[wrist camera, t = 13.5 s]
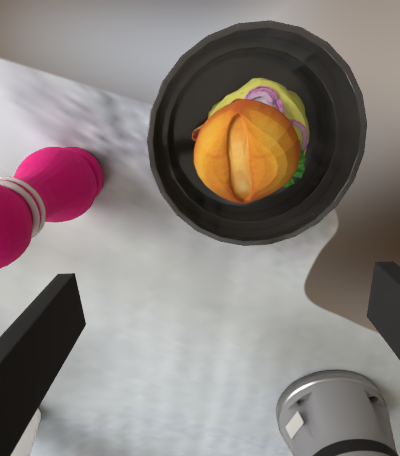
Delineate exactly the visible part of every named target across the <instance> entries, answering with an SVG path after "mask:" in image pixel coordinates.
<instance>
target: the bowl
mask: <svg viewBox="0 0 400 456" xmlns="http://www.w3.org/2000/svg"><path fill="white" fill-rule="evenodd" d="M253 78H264V79H268V80H271V81H274V82H277V83H279V84H281V85H282V86H284V87H285V88H286V89H287V90H288V91H292V92H295V93H296V94H297V95H298V96H299V98H300V99H301V100H302V102H303V105H304V107H305V115H306V118H307V121H308V126H309V142H308V145H307V148H306V153H305V156H304V157H305V158H306V159H305V161H304V163H303V164H304V168H305V171H304V172H303V174H302V178H298V177H293V179H294V182H295V184H292V185H290V186H288V187H281V188H280V189H278V190H276V191H275V192H273V193H272V194H270V195H268V196H266V197H264V198H262V199H259V200H256V201H253V202H249V203H237V202H232V201H229V200H227V199H224V198H222V197H220V196H218V195H217V194H216V193H214V192H213V191H211V190H210V189H209V188H208V187H207V186H206V185H205V184H204V183H203V181H202V180H201V179H200V177H199V176H198V174H197V171H196V168H195V165H194V147H195V143H196V141H194V140H193V139H192V133H193V131H194V130H195V129H197V128H198V127H200V126H201V125H203V124H204V123H205V122H206V121H207V120H208V113H209V111H210V110H211V108H212V107H213V105H214V104H216V103H218V102H220V101H222V100H223V99H224V97H225V96H227V95H229V94H231V93H233V92H234V91H236V90H238V89H239V88H241V87H242V86H244V85H245V84H246V83H248V82H249V81H250V80H251V79H253ZM366 129H367V121H366V114H365V108H364V101H363V95H362V92H361V90H360V88H359V86H358V84H357V81H356V79H355V77H354V75H353V73H352V71H351V69H350V67H349V65H348V64H347V63H346V62H345V61H344V60H343V59H342V57H341V56H340V55H339V54H338V53H337V52H336V51H335V50H334V49H333V48H332V47H331V45H330V44H329V43H328V42H326V41H324V40H322V39H321V38H319V37H317V36H316V35H314V34H312V33H310V32H309V31H307V30H305V29H303V28H301V27H298V26H293V25H289V24H284V23H279V22H275V21H260V22H249V23H238V24H235V25H233V26H230V27H228V28H225V29H223V30H220V31H218V32H215V33H213V34H211V35H208V36H207V37H205V38H204V39H203V40H201V41H200V42H199V43H197V44H196V45H195V46H194V47H192V48H191V49H190V50H188V51H187V52H186V53H185V54H183V55H182V57H180V59H179V60H178V61H177V63H176V64H175V65H174V67H173V68H172V69H171V71H170V72H169V73H168V75H167V76H166V78H165V79H164V80H163V82H162V84H161V86H160V89H159V91H158V94H157V96H156V99H155V102H154V104H153V106H152V109H151V112H150V120H149V129H148V137H147V144H148V152H149V159H150V167H151V171H152V173H153V176H154V178H155V181H156V183H157V185H158V188H159V190H160V193H161V195H162V196H163V197H164V199H165V200H166V201H167V203H168V204H169V205H170V207H171V208H172V209H173V211H174V212H175V214H176V215H177V216H179V217H180V218H181V219H182V220H183V221H185V222H186V223H187V224H188V225H190V226H191V227H192V228H193V229H195V230H197V231H198V232H200V233H202V234H204V235H207V236H209V237H211V238H213V239H215V240H218V241H221V242H226V243H232V244H237V245H242V246H249V245H266V244H272V243H275V242H279V241H282V240H285V239H289V238H292V237H295V236H297V235H298V234H300V233H302V232H304V231H305V230H307V229H309V228H310V227H312V226H314V225H316V224H317V223H319V222H320V221H321V220H322V219H323V218H324V217H325V216H326V215H327V214H328V213H329V212H330V211H331V210H333V209H334V208H335V207H336V206H337V204H338V203H339V202H340V200H341V199H342V198H343V196H344V194H345V193H346V192H347V190H348V189H349V187H350V186H351V184H352V183H353V181H354V179H355V176H356V173H357V171H358V168H359V165H360V163H361V160H362V157H363V153H364V148H365V138H366Z"/></svg>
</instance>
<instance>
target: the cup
mask: <svg viewBox="0 0 400 456" xmlns="http://www.w3.org/2000/svg"><path fill="white" fill-rule="evenodd" d="M40 420H41V412H40V410H39V408H38V409H37V411H36V412H35V414H34V416H33V417H32V419H31V421H30V423H29V424H28V426H27V428H26V430H25V431H24V433H23V435H22V437H21V438H20V440H19V442H18V444H17V445H16V447H15V449H14V451H13V452H12V454H11V456H30V453H31V450H32V447H33V444H34V440H35V437H36V434H37V430H38V427H39V424H40Z"/></svg>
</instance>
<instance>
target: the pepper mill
mask: <svg viewBox="0 0 400 456" xmlns="http://www.w3.org/2000/svg"><path fill="white" fill-rule="evenodd" d="M103 179H104V178H103V172H102V169H101V166H100V164H99V163H98V161H97V160H96V159H95V157H94V156H92V155H91V154H90V153H89V152H87V151H85V150H83V149H80V148H77V147H66V148H61V147H47V148H43V149H41V150H38V151H36V152H34V153H32V154H31V155H29V156H28V157H27V158H26V159H25V160H24V161H23V162H22V163H21V164H20V166H19V167H18V169H17V171H16V173H15V175H14V178H12V177H0V268H2V267H5V266H7V265H9V264H10V263H12V262H13V261H15V260H16V259H17V258H19V257H20V256H21V255H22V254H23V253H24V251H25V250H26V248H27V247H28V246H29V243H30V241H31V238H33V237H34V236H36V235H37V234H38V233H39V232H40V231H41V230H42V228H43V226H44V223H45V221H46V222H63V221H68V220H72V219H74V218H76V217H78V216H80V215H82V214H83V213H85V212H86V211H87V210H88V209H89V208H90V207H91V205H92V203H93V201H94V199H95V197H96V196H97V195H98V194H99V193H100V191H101V189H102V186H103Z"/></svg>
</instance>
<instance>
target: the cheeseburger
mask: <svg viewBox="0 0 400 456" xmlns="http://www.w3.org/2000/svg"><path fill="white" fill-rule="evenodd" d="M192 139H193V140H194V141H196V143H195V147H194V165H195V168H196V171H197V174H198V176H199V177H200V179H201V180H202V181H203V183H204V184H205V185H206V186H207V187H208V188H209V189H210V190H211V191H213V192H214V193H216V194H217V195H218V196H220V197H222V198H224V199H227V200H229V201H232V202H237V203H249V202H253V201H256V200H259V199H262V198H264V197H266V196H268V195H270V194H272V193H273V192H275V191H276V190H278V189H280V188H281V187H288V186H290V185H292V184H295V182H294V179H293V177H298V178H302V174H303V172H304V171H305V168H304V164H303V163H304V161H305V159H306V158H305V157H304V156H305V153H306V148H307V145H308V142H309V126H308V121H307V118H306V115H305V107H304V105H303V102H302V100H301V99H300V98H299V96H298V95H297V94H296V93H295V92H292V91H288V90H287V89H286V88H285V87H284V86H282V85H281V84H279V83H277V82H274V81H271V80H268V79H264V78H253V79H251V80H250V81H249V82H248V83H246V84H245V85H244V86H242V87H241V88H239V89H238V90H236V91H234V92H233V93H231V94H229V95H227V96H225V97H224V99H223V100H222V101H220V102H218V103H216V104H214V105H213V107H212V108H211V110H210V111H209V113H208V120H207V121H206V122H205V123H204V124H203V125H201V126H200V127H198V128H197V129H195V130H194V131H193V133H192Z"/></svg>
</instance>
